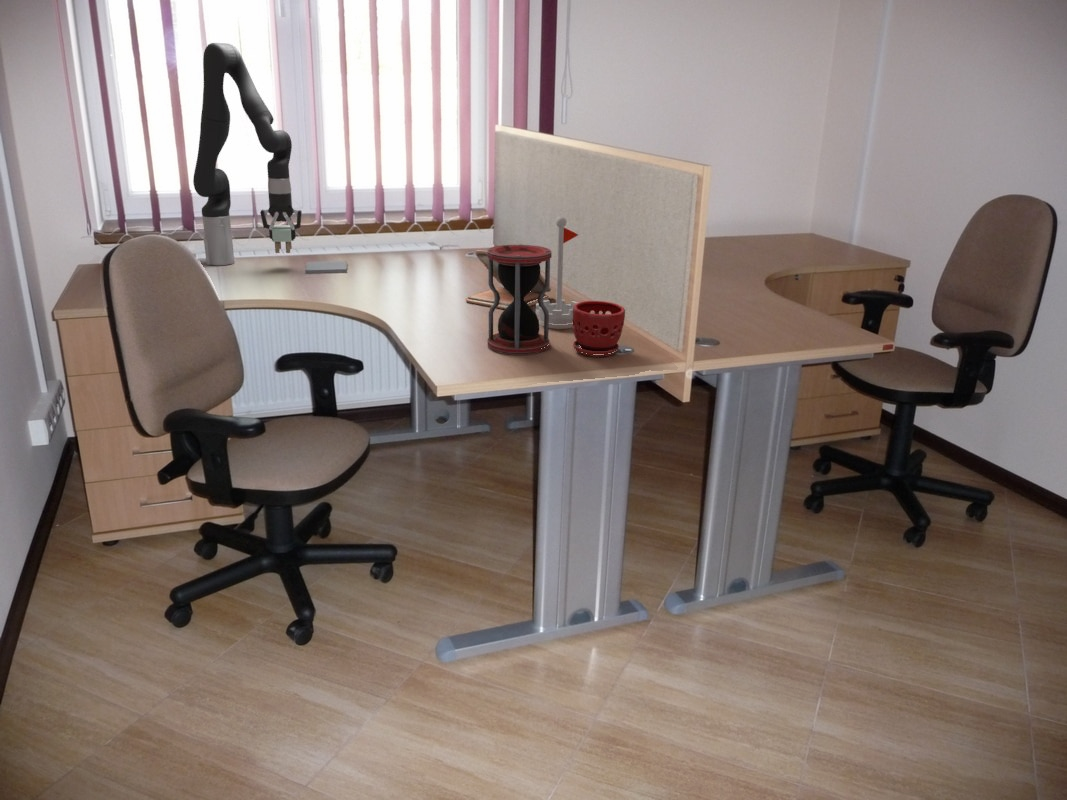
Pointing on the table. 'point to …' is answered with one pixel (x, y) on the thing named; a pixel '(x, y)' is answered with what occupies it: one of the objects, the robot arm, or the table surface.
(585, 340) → the plant pot
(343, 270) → the mat
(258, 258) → the table surface
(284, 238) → the mint green toy brick
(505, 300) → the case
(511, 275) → the hourglass
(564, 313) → the flag stand
